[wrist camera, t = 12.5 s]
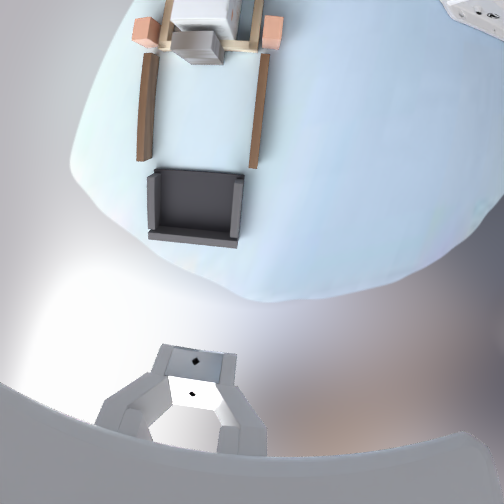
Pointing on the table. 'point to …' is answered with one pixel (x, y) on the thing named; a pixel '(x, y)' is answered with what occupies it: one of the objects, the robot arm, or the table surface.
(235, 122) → the table surface
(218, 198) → the dark grey tray
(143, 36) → the posts
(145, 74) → the walnut channel
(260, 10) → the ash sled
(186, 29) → the small box
